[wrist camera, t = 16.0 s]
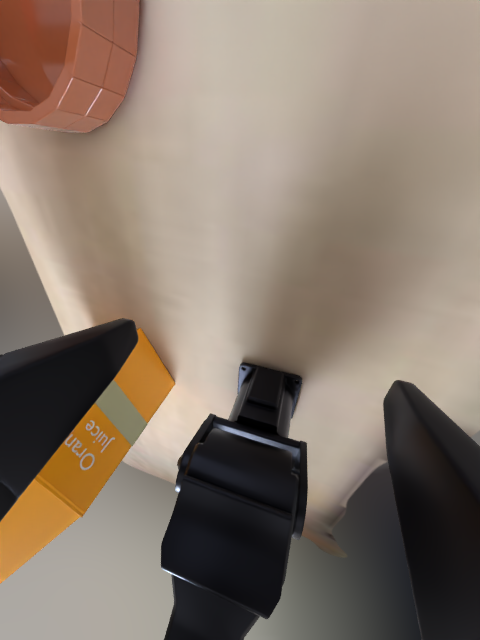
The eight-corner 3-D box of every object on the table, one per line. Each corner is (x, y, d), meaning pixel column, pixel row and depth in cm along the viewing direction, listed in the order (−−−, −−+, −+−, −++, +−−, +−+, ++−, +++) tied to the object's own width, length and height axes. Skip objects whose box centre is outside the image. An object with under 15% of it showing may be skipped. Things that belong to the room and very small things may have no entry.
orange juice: (141, 327, 27) (-139, 566, 11) (176, 384, 30) (8, 626, 14) (97, 336, 30) (-167, 528, 14) (134, 386, 34) (-42, 585, 17)
